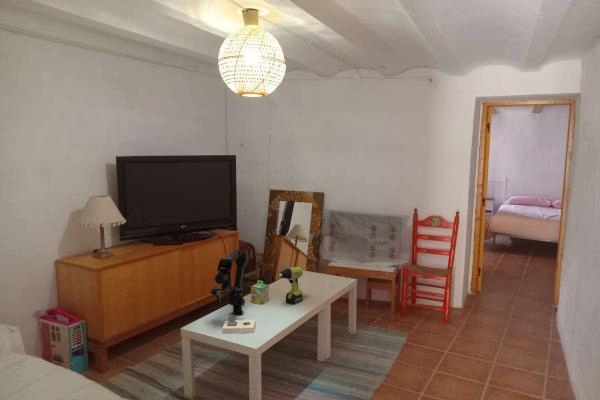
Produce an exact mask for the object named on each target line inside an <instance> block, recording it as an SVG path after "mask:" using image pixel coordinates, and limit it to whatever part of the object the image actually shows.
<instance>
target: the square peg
mask: <svg viewBox="0 0 600 400" xmlns="http://www.w3.org/2000/svg"><path fill="white" fill-rule="evenodd" d="M236 317H237V315H232V314H229V315H228V317H227V320H228V326H236V320H237V318H236Z"/></svg>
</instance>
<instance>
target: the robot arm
mask: <svg viewBox="0 0 600 400" xmlns="http://www.w3.org/2000/svg"><path fill="white" fill-rule="evenodd" d="M249 260H250V259H249V255H248V253H246V252H245V251H243V250H241V249H233V251H232V252H231V253H229V255H227V256H225V257H222V258H220V259H219V262H218V264H217V265H218V266H217V268H216V269H217V270H216V272H217V274H216V275H215V276H214V281H215V283H216V284H219V285H221V287H219V286H213V287H212V288H211V289H210V294H211V295H213V296H215V298H216V299H217V302H218V304H219V305H221V295H222V296H223V295H228V303H229V306H232V313H231V315H236V316H242V315H243V313H244V310H243V306H245V302H246V300H245V298H244V297H243V291H244V288H243V285H242V284H243V277H244V270H245V268H246V266H247V265H248V262H249ZM234 263H235V266H236V270H235V275H234V284H233V283H232V270H233V269H232V268H233V266H234Z"/></svg>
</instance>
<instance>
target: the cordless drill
mask: <svg viewBox="0 0 600 400" xmlns="http://www.w3.org/2000/svg"><path fill="white" fill-rule="evenodd" d="M303 275H304V270H303V268H302V267H301V266H296V267H288V268H285V269H284V270H281V271H280V272H279V274H278V276H279V277H280V278H282V279H287V280H288V283H289V284H291V289H290V290H289V291H288V292H287V293H286V296H285V304H287V303H288V305H291V306H292V305H293V306H295V305H297V304H299V303H301V302H303V290H301V289H300V288H299V280H298V279H299V278H300V277H303Z"/></svg>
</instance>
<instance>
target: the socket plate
mask: <svg viewBox="0 0 600 400" xmlns="http://www.w3.org/2000/svg"><path fill="white" fill-rule="evenodd" d="M255 329H256V319H236V326H228V319H227V320H226V319H225V320H224V322H223V326H222V328H221V332H222V334H254V332H255Z"/></svg>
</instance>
